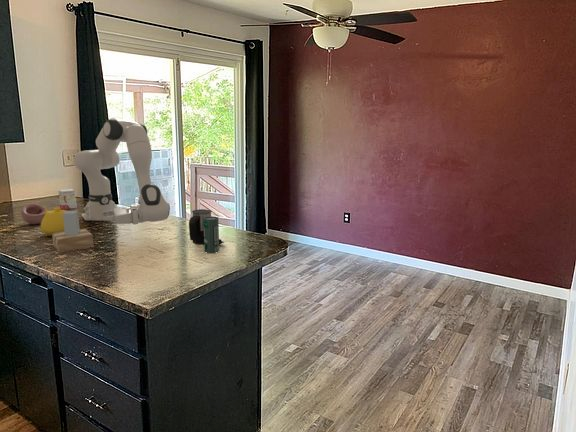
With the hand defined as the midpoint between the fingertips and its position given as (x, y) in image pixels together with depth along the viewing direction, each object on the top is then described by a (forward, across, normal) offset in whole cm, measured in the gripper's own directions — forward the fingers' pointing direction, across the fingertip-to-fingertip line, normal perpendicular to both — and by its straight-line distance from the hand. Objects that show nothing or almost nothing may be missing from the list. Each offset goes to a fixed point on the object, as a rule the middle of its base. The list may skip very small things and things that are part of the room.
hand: (103, 216), depth 200 cm
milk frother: (-44, +20, +12) cm, 50 cm away
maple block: (+13, +1, +13) cm, 19 cm away
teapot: (+21, -24, +13) cm, 35 cm away
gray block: (+13, +1, +7) cm, 15 cm away
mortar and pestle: (+33, -52, +13) cm, 63 cm away
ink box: (+18, -90, +13) cm, 93 cm away
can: (-42, +33, +12) cm, 55 cm away
